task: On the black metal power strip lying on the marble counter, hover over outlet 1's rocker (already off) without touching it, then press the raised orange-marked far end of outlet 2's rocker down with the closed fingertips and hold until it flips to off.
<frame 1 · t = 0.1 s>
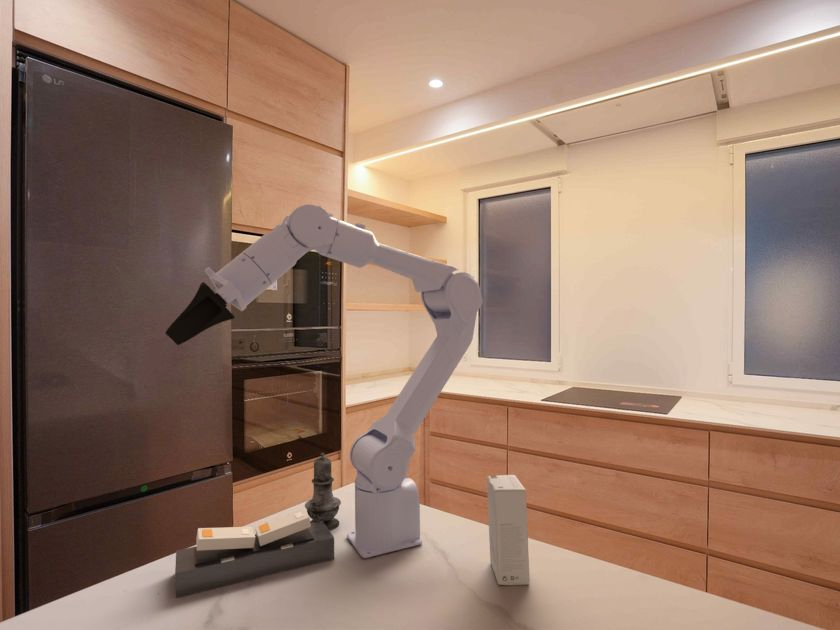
hand: (172, 338, 59), 32 cm above the countertop, tool tilted 50°, fingers open, 7 cm apart
skincare box: (507, 574, 63), on the countertop
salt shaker: (323, 526, 78), on the countertop
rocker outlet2: (225, 537, 63), point 5 cm above the countertop, hinge at -10.0°
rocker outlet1: (282, 526, 67), point 5 cm above the countertop, hinge at 10.0°
power strip: (257, 565, 65), on the countertop
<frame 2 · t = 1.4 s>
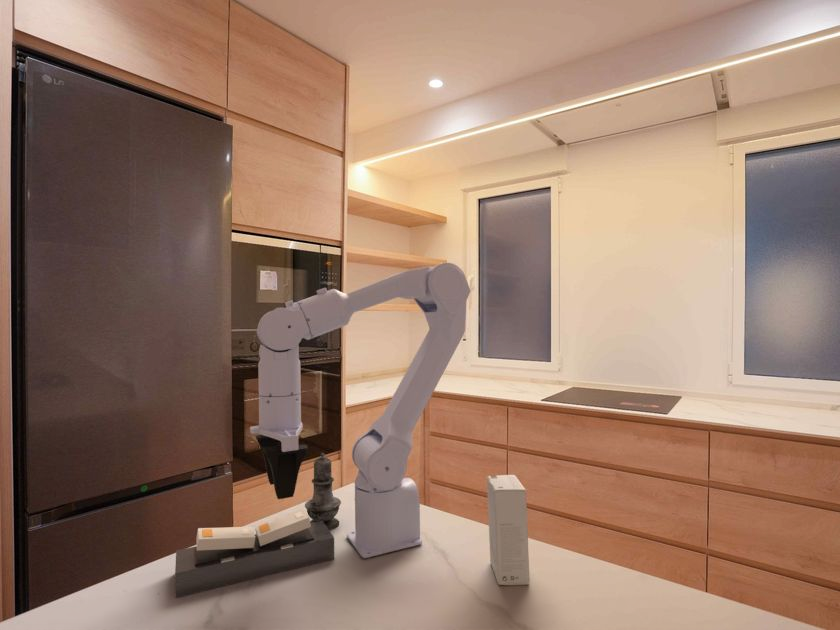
hand: (281, 489, 67), 10 cm above the countertop, tool pointing down, fingers open, 6 cm apart
nothing on the countertop moved.
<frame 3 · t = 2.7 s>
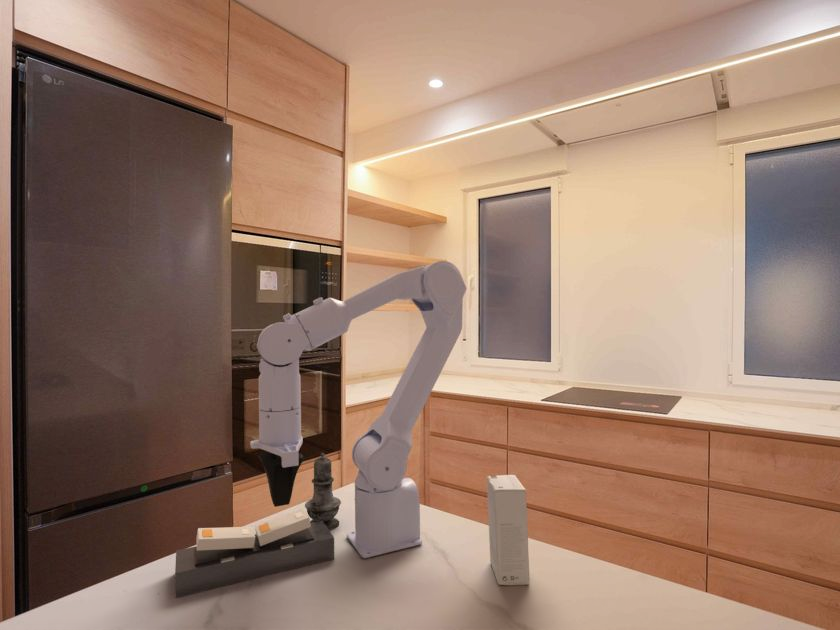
hand: (281, 503, 67), 8 cm above the countertop, tool pointing down, fingers closed
nothing on the countertop moved.
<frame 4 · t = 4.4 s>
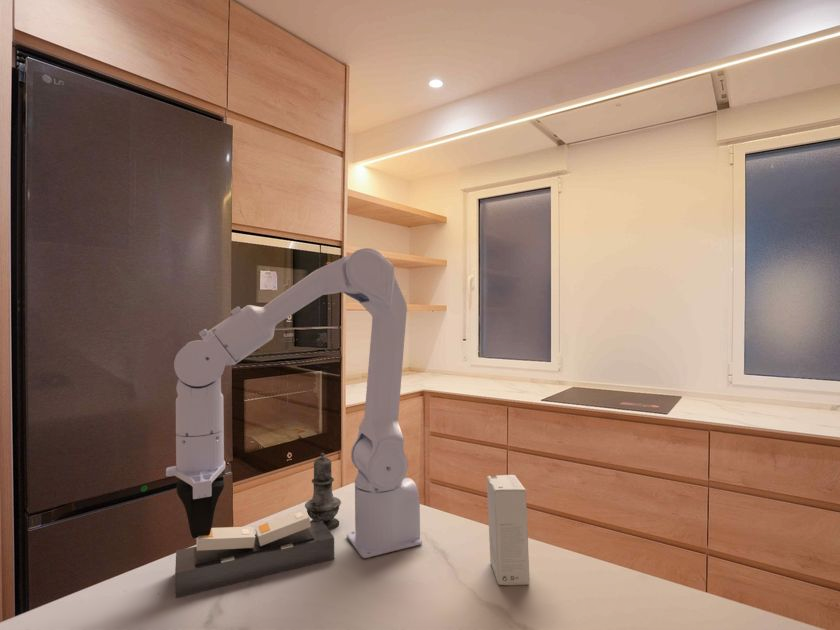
hand: (200, 534, 62), 6 cm above the countertop, tool pointing down, fingers closed, pressing on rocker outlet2
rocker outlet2: (225, 537, 63), point 5 cm above the countertop, hinge at -9.9°, touching gripper
everything else where it was.
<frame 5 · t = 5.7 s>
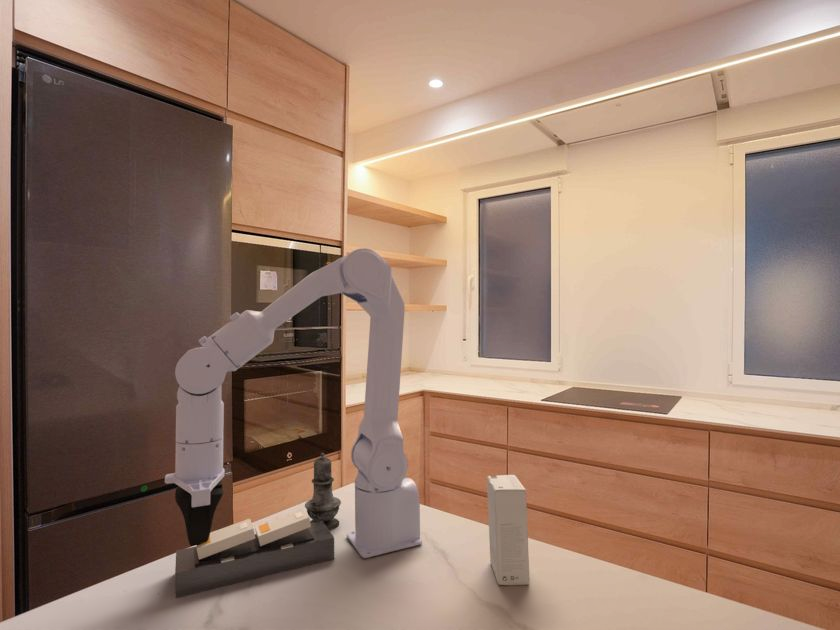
hand: (198, 542, 62), 5 cm above the countertop, tool pointing down, fingers closed, pressing on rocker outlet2
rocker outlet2: (225, 537, 63), point 5 cm above the countertop, hinge at 10.1°, touching gripper
everything else where it was.
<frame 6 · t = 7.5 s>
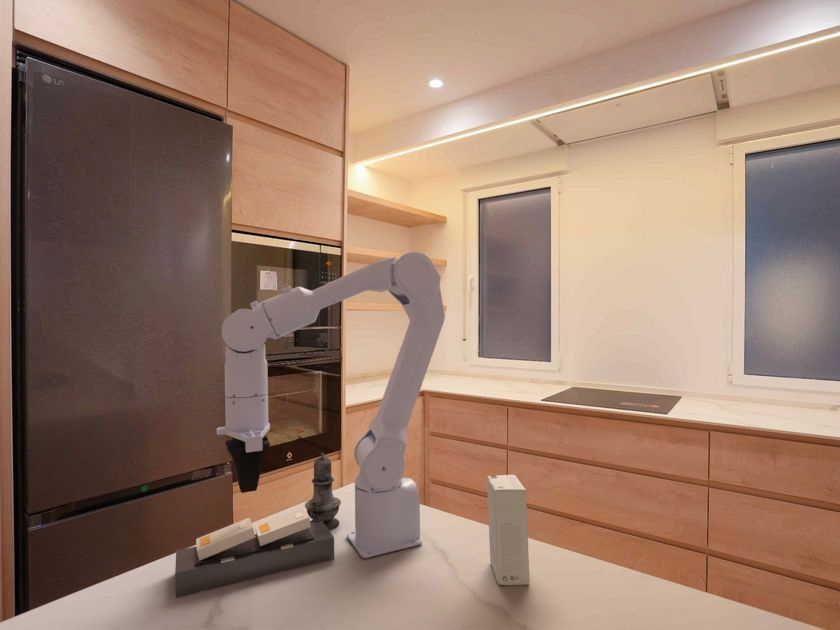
hand: (248, 490, 67), 10 cm above the countertop, tool pointing down, fingers closed
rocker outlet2: (225, 537, 63), point 5 cm above the countertop, hinge at 12.5°
everything else where it was.
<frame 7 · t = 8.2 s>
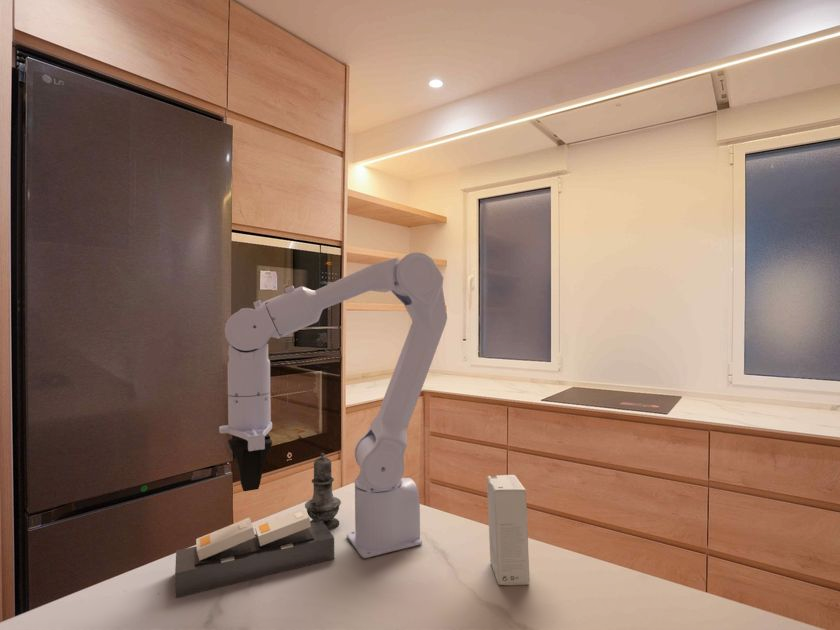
hand: (250, 488, 67), 10 cm above the countertop, tool pointing down, fingers closed
nothing on the countertop moved.
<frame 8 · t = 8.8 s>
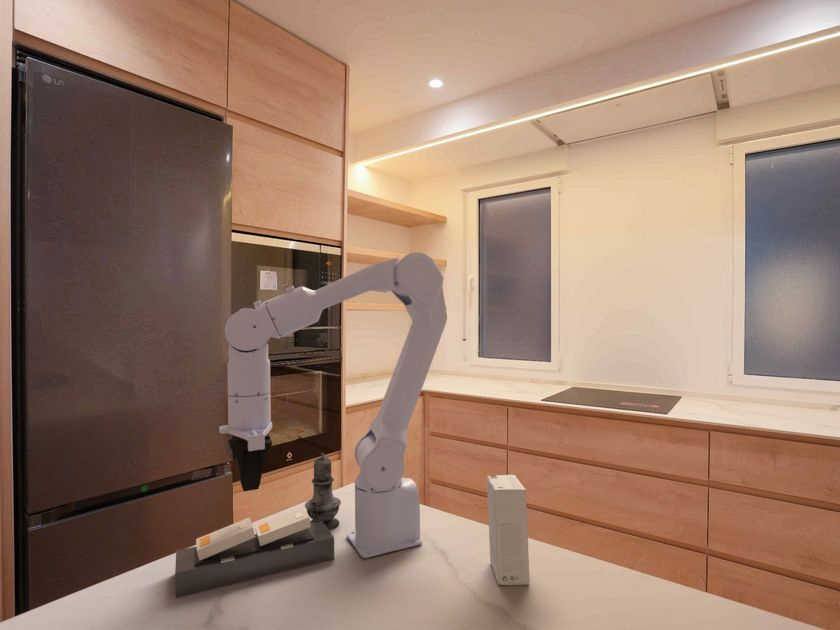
hand: (250, 488, 67), 10 cm above the countertop, tool pointing down, fingers closed
nothing on the countertop moved.
at the end: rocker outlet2 at +13° (first picture: -10°); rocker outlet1 at +10° (first picture: +10°) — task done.
